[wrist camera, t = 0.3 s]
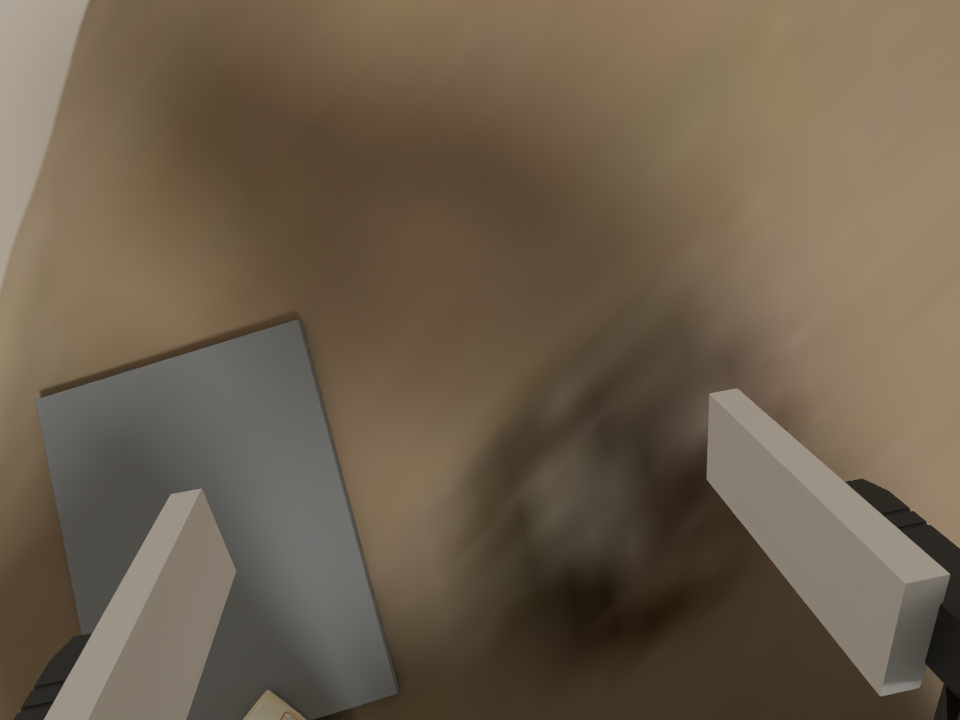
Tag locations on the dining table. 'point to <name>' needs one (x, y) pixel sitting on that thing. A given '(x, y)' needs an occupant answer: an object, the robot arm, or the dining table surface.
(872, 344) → the dining table surface
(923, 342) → the dining table surface
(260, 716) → the coffeecake box
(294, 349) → the mat
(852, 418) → the dining table surface
